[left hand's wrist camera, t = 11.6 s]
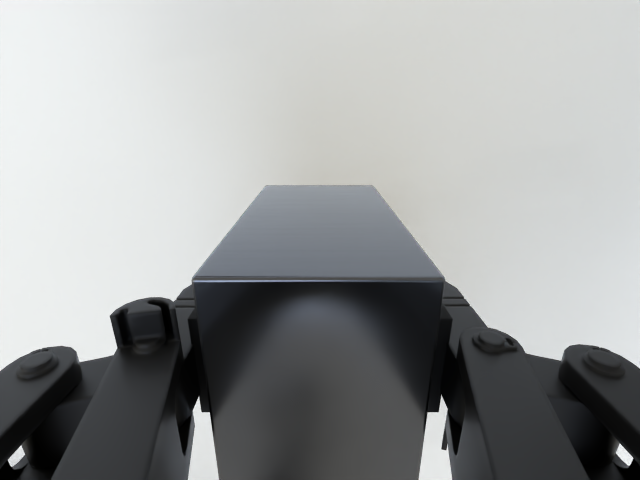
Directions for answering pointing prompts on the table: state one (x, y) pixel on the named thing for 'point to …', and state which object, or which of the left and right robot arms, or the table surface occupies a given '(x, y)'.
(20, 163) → the table surface
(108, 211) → the table surface
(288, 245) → the bar
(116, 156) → the table surface
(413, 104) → the table surface
